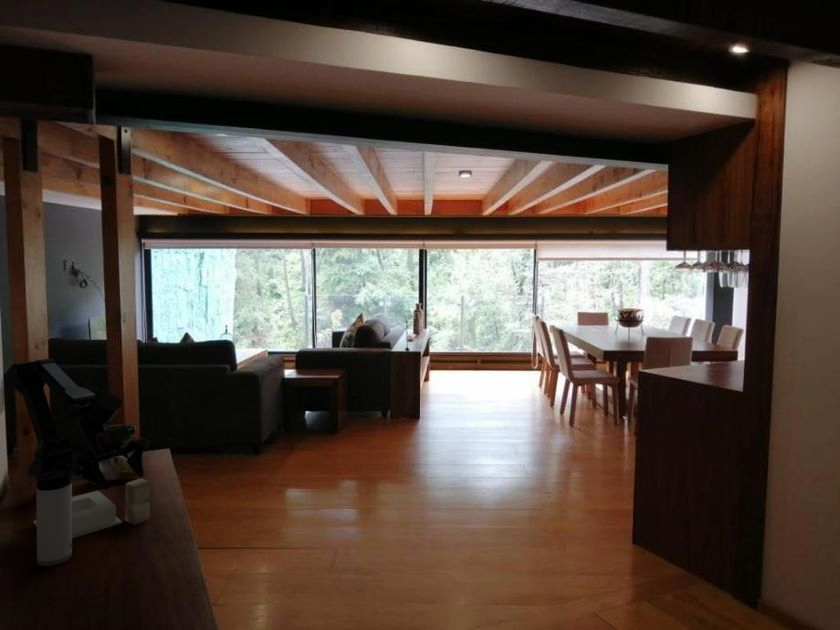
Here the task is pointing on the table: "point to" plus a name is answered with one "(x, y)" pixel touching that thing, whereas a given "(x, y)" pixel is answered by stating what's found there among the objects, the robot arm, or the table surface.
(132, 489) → the birch peg
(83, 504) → the socket block
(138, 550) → the table surface
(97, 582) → the table surface
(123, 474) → the ceramic sculpture
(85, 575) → the table surface
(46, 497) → the travel mug
